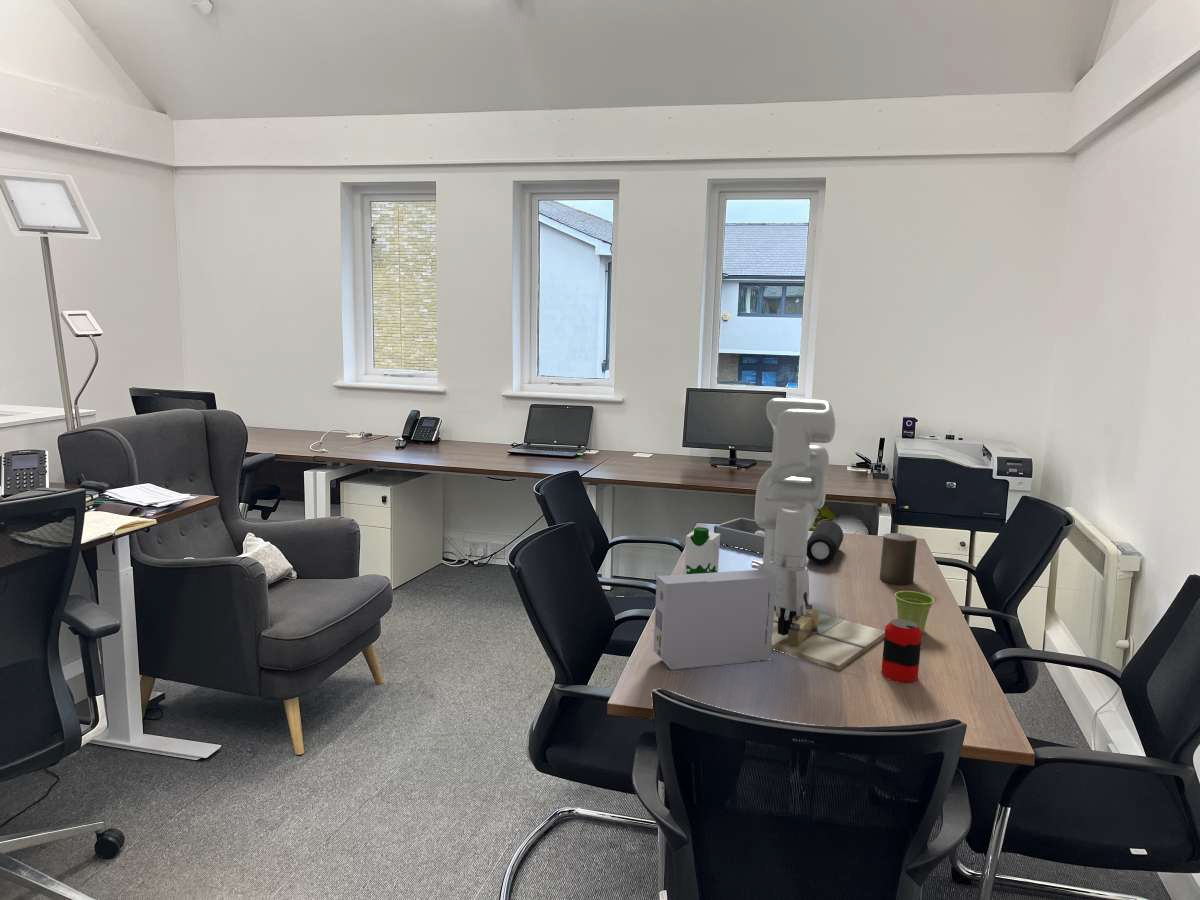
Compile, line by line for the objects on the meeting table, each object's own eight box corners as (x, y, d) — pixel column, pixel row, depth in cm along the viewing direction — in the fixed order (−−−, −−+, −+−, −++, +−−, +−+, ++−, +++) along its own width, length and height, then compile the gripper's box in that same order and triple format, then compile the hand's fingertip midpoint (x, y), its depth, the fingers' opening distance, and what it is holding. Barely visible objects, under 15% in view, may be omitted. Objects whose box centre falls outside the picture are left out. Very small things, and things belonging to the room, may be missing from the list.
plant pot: (929, 626, 210) (933, 593, 209) (931, 639, 202) (935, 605, 200) (891, 620, 213) (894, 588, 212) (891, 633, 205) (894, 600, 203)
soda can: (898, 685, 175) (903, 632, 173) (873, 671, 182) (878, 619, 180) (925, 680, 178) (930, 627, 176) (899, 666, 185) (904, 615, 183)
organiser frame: (713, 542, 283) (714, 526, 282) (739, 533, 297) (740, 517, 296) (775, 557, 268) (776, 539, 267) (800, 546, 282) (801, 529, 281)
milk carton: (679, 599, 224) (683, 528, 221) (690, 589, 233) (693, 521, 229) (710, 604, 221) (714, 533, 218) (720, 595, 229) (724, 525, 226)
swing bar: (803, 624, 203) (804, 605, 202) (819, 627, 201) (821, 609, 200) (784, 643, 190) (785, 624, 190) (800, 647, 188) (802, 627, 188)
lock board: (729, 636, 199) (730, 620, 198) (783, 607, 220) (784, 593, 220) (838, 670, 181) (839, 653, 181) (886, 635, 203) (887, 620, 202)
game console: (774, 660, 186) (780, 576, 182) (662, 671, 178) (666, 584, 175) (762, 650, 191) (767, 568, 188) (652, 661, 183) (656, 575, 180)
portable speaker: (813, 545, 284) (815, 517, 283) (843, 549, 281) (845, 521, 279) (802, 564, 261) (805, 534, 259) (834, 569, 257) (837, 538, 256)
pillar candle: (913, 587, 241) (918, 537, 239) (879, 582, 244) (883, 534, 242) (912, 578, 251) (917, 530, 248) (878, 574, 254) (883, 527, 251)
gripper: (754, 554, 195) (749, 627, 198) (806, 570, 184) (800, 647, 187) (773, 549, 200) (769, 620, 203) (826, 564, 189) (820, 639, 192)
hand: (784, 633), depth 195 cm, fingers closed
